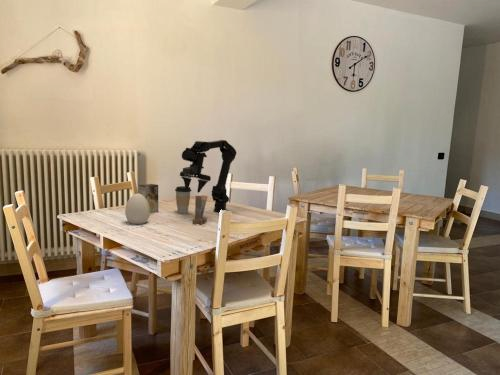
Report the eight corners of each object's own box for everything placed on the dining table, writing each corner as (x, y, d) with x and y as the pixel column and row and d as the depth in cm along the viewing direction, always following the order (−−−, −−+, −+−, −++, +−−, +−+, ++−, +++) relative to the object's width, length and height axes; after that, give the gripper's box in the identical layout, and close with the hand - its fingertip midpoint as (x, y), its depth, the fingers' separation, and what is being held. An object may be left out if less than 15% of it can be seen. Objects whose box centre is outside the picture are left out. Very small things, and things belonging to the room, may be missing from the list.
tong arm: (197, 217, 200) (202, 196, 204) (202, 217, 199) (207, 196, 203) (196, 216, 198) (201, 195, 202) (202, 217, 197) (206, 195, 202)
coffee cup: (171, 212, 220) (171, 187, 218) (181, 210, 228) (181, 185, 226) (184, 215, 216) (184, 189, 213) (194, 212, 224) (194, 187, 222)
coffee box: (151, 210, 224) (151, 183, 222) (158, 212, 221) (158, 184, 218) (138, 212, 217) (138, 184, 215) (145, 214, 213) (145, 186, 211)
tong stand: (197, 221, 203) (198, 194, 201) (206, 222, 202) (207, 194, 200) (192, 224, 196) (193, 196, 194) (201, 225, 195) (202, 196, 193)
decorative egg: (155, 222, 197) (155, 193, 195) (137, 226, 187) (137, 196, 185) (138, 218, 203) (138, 190, 201) (120, 222, 193) (119, 193, 191)
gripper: (175, 159, 208) (169, 187, 207) (199, 162, 197) (194, 191, 196) (189, 163, 217) (184, 190, 216) (213, 166, 206) (208, 194, 205)
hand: (192, 191), depth 208 cm, fingers open, 9 cm apart
